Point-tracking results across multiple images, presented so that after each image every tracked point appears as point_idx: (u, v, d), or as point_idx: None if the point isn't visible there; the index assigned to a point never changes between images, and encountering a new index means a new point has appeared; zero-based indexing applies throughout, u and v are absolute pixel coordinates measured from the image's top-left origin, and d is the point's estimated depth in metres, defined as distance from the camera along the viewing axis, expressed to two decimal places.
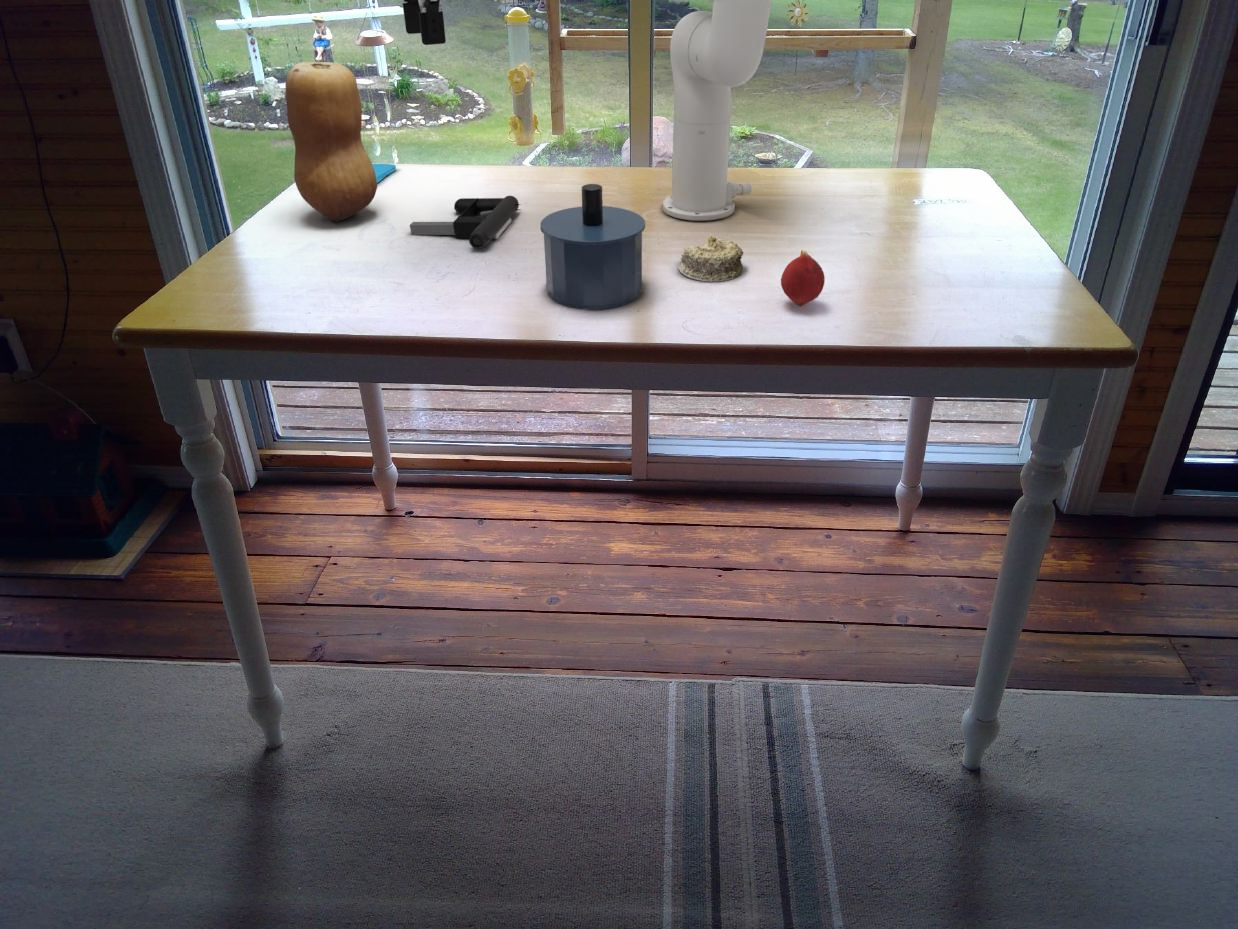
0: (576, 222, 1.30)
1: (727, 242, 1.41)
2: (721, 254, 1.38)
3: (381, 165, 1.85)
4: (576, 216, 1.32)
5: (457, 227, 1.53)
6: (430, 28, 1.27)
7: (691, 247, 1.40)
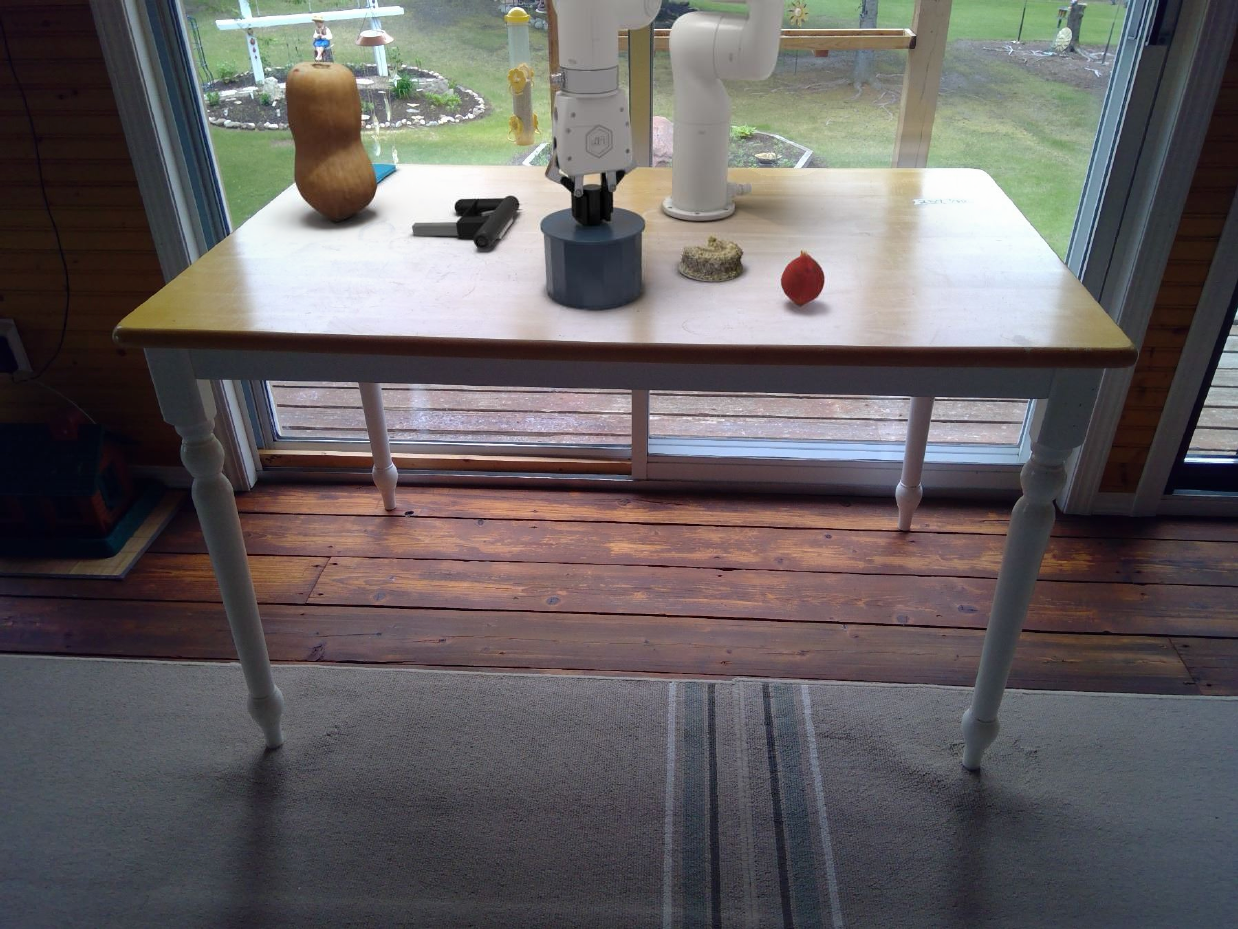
0: (576, 222, 1.30)
1: (727, 242, 1.41)
2: (721, 254, 1.38)
3: (381, 165, 1.85)
4: None
5: (460, 228, 1.53)
6: (572, 207, 1.28)
7: (691, 247, 1.40)
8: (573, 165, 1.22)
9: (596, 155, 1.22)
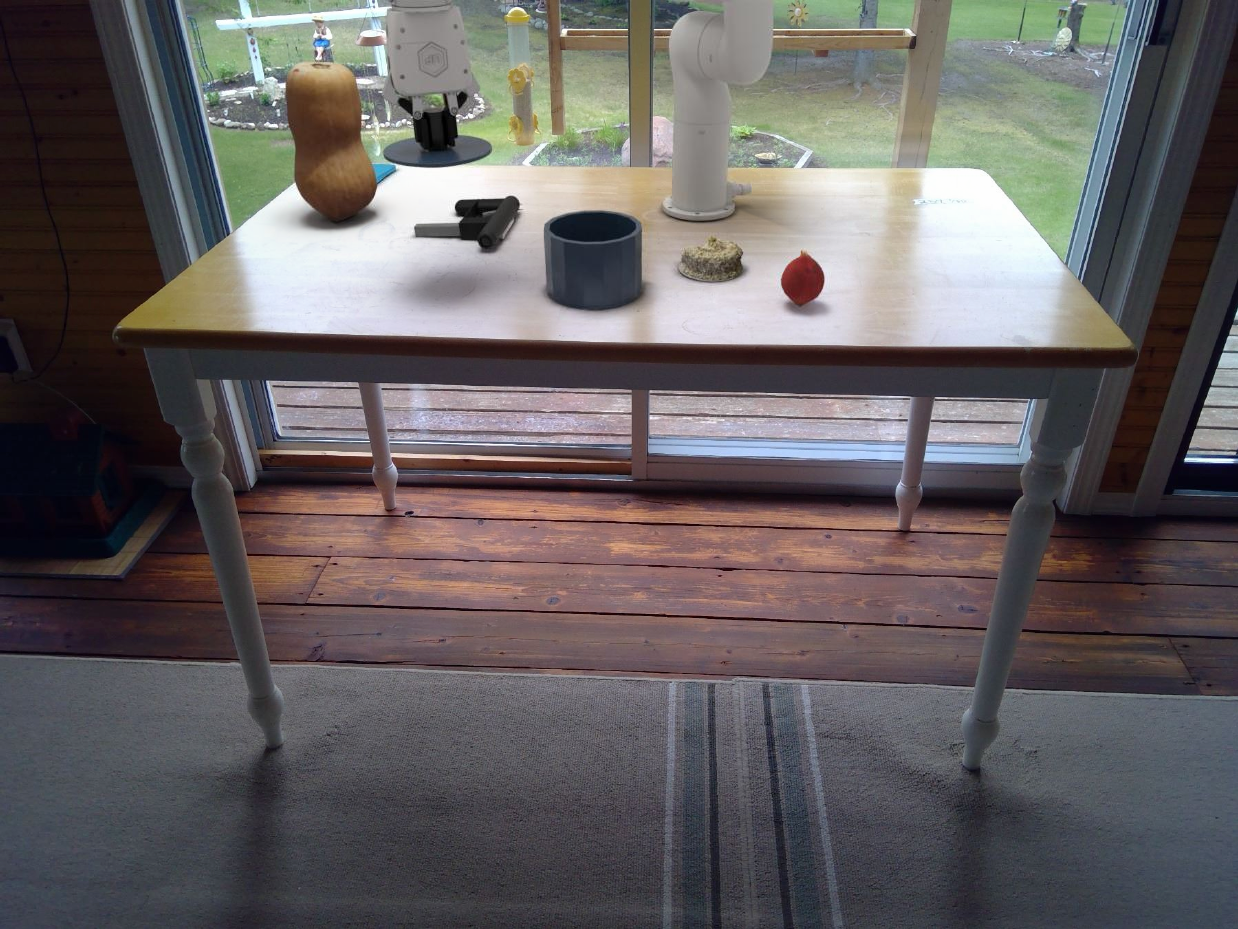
0: (421, 148, 1.28)
1: (727, 242, 1.41)
2: (721, 254, 1.38)
3: (381, 165, 1.85)
4: None
5: (463, 228, 1.52)
6: (414, 131, 1.25)
7: (691, 247, 1.40)
8: (407, 84, 1.19)
9: (431, 74, 1.20)
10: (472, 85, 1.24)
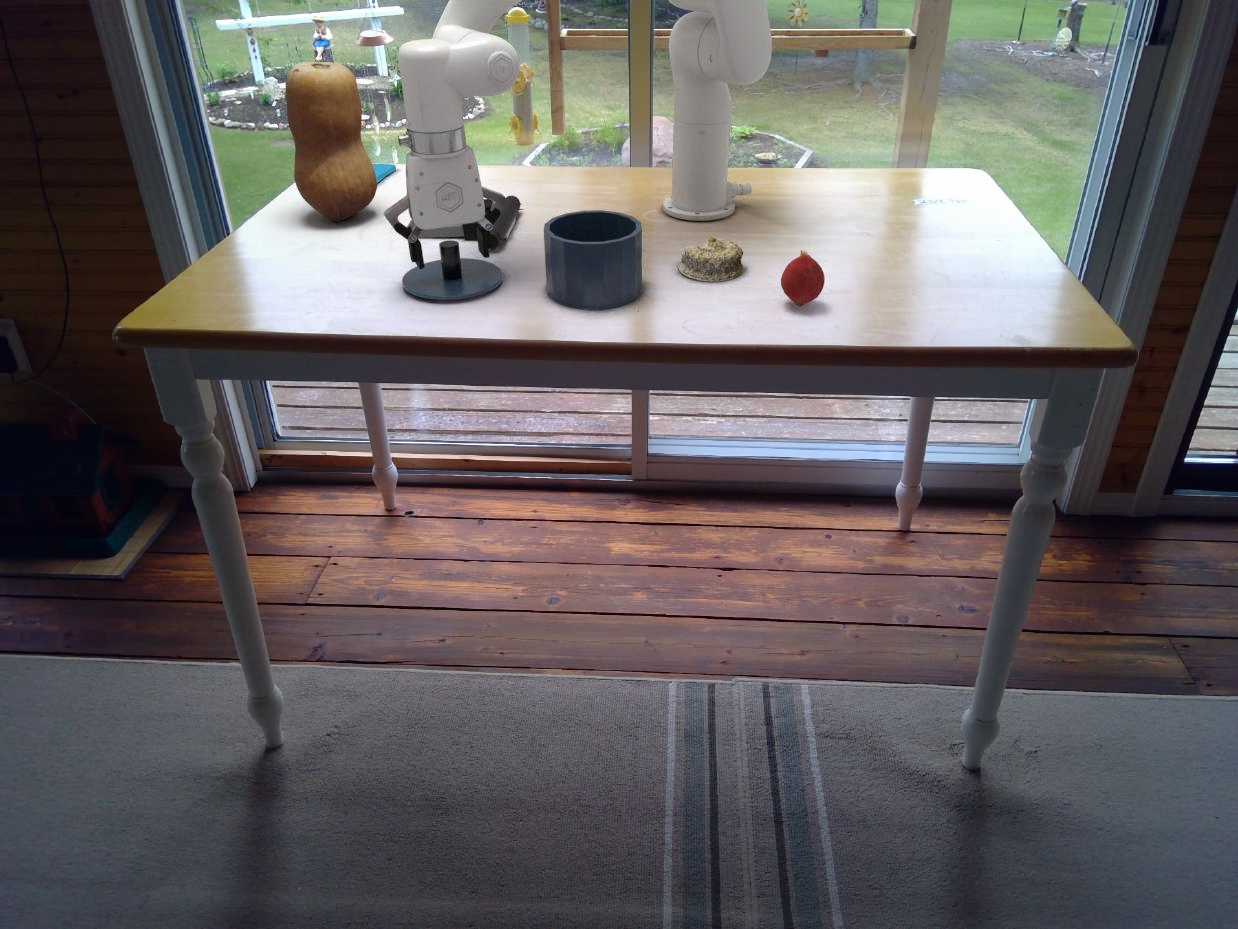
0: (437, 276, 1.38)
1: (727, 242, 1.41)
2: (721, 254, 1.38)
3: (381, 165, 1.85)
4: (439, 269, 1.40)
5: (467, 229, 1.52)
6: (409, 251, 1.34)
7: (691, 247, 1.40)
8: (425, 219, 1.29)
9: (448, 210, 1.30)
10: (498, 199, 1.34)
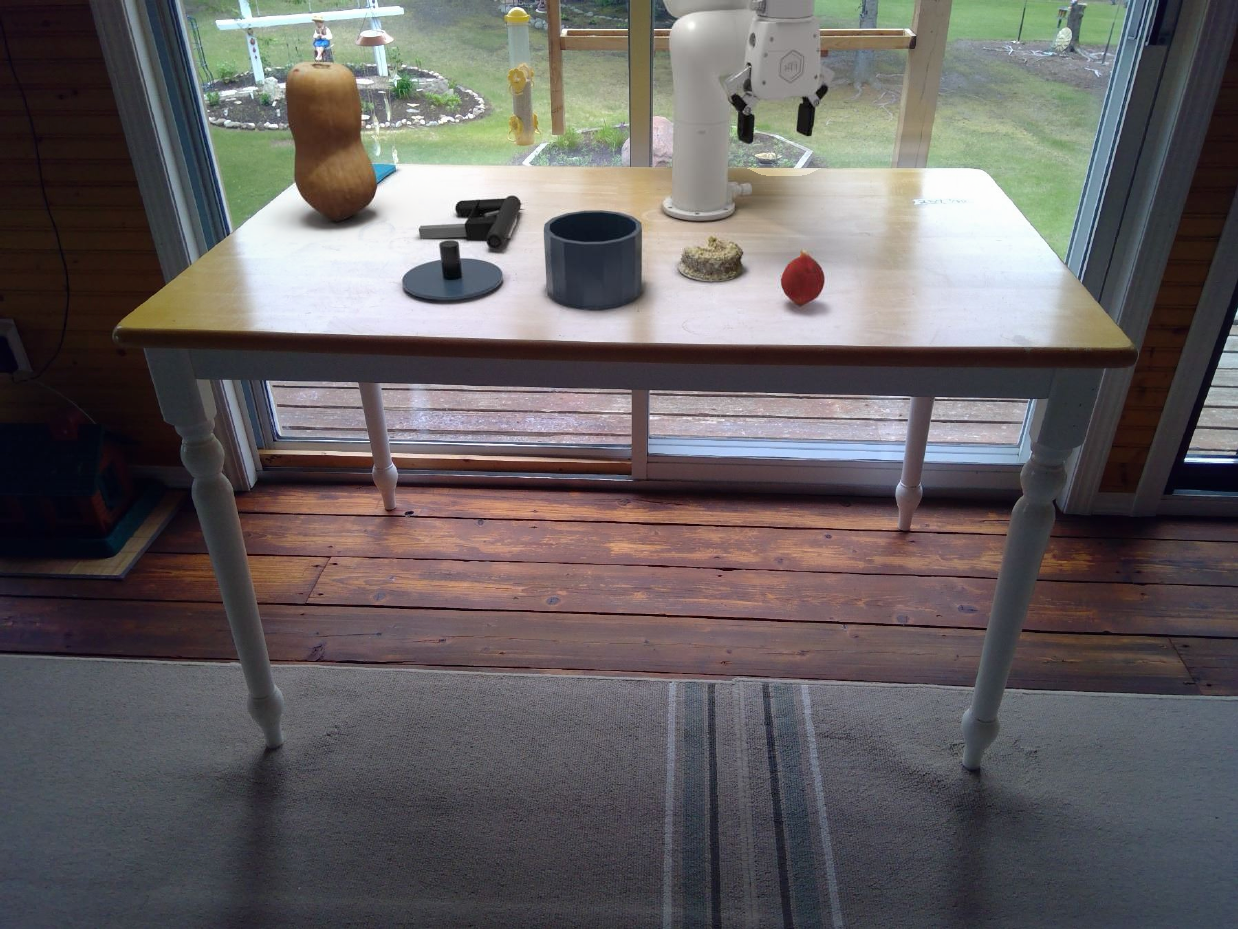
0: (437, 276, 1.38)
1: (727, 242, 1.41)
2: (721, 254, 1.38)
3: (381, 165, 1.85)
4: (439, 269, 1.40)
5: (469, 229, 1.52)
6: (738, 126, 1.32)
7: (691, 247, 1.40)
8: (766, 89, 1.28)
9: (788, 80, 1.28)
10: (827, 74, 1.32)
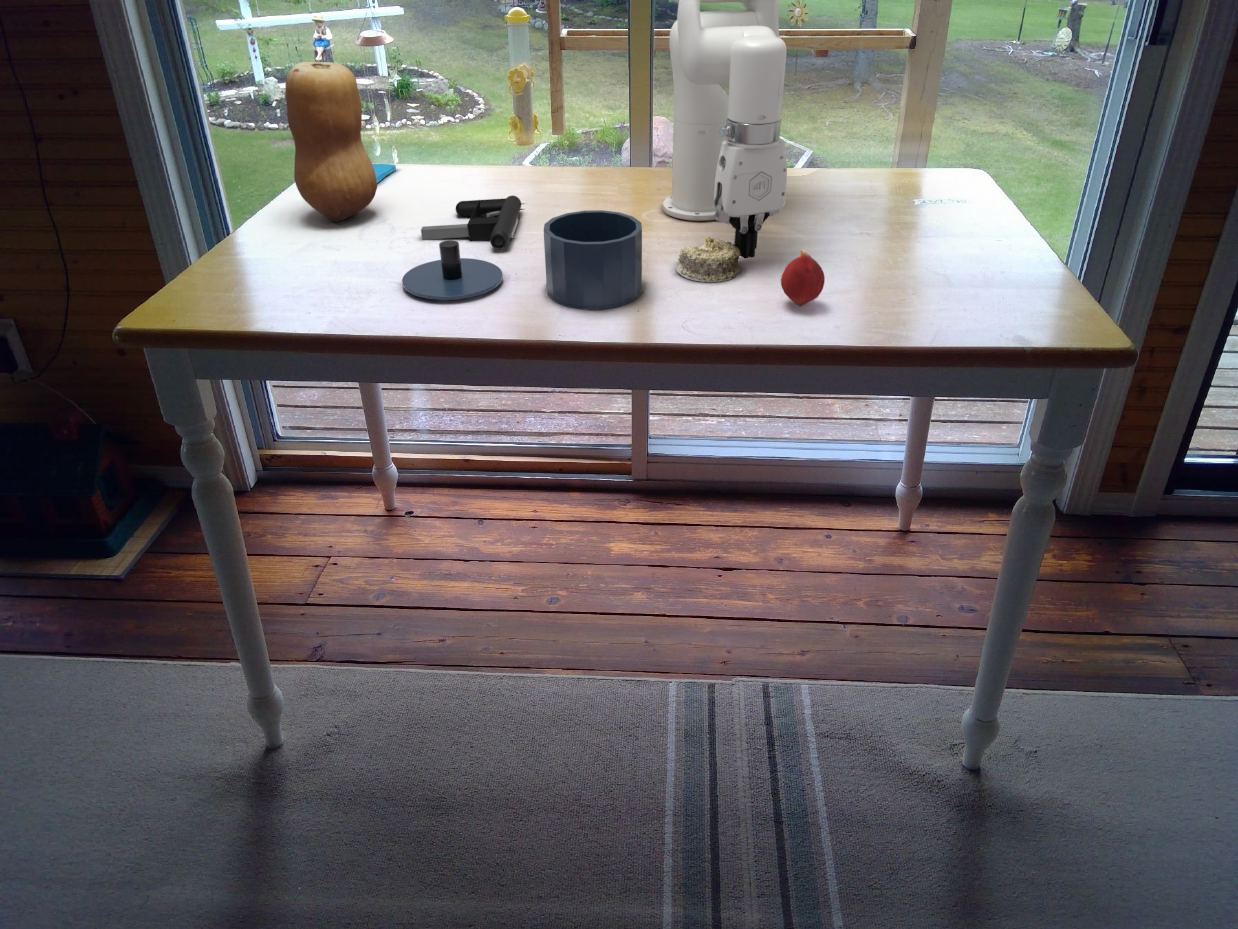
0: (437, 276, 1.38)
1: (725, 243, 1.41)
2: (719, 255, 1.37)
3: (381, 165, 1.85)
4: (439, 269, 1.40)
5: (472, 229, 1.52)
6: (735, 242, 1.42)
7: (689, 248, 1.40)
8: (736, 207, 1.35)
9: (756, 198, 1.36)
10: None
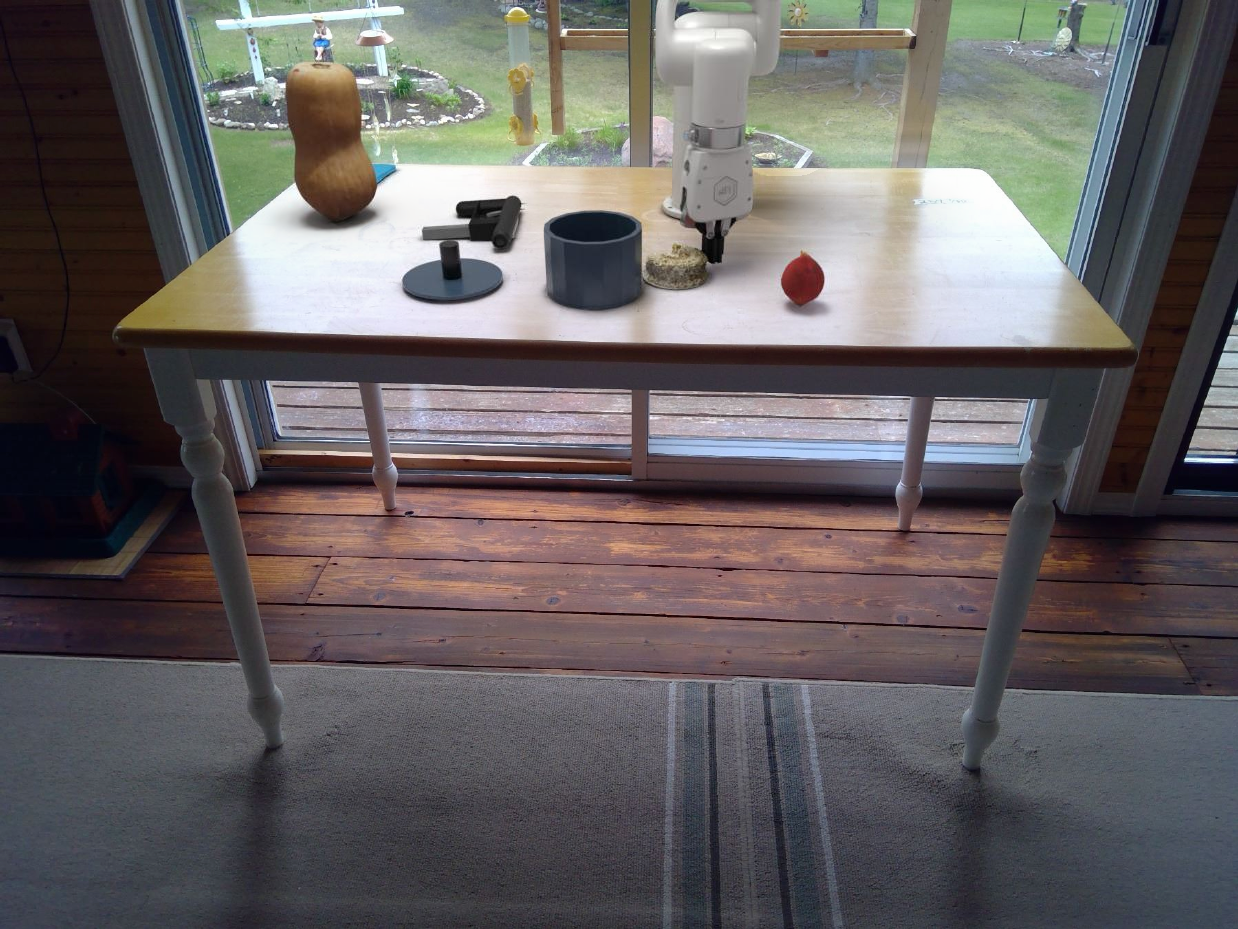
0: (437, 276, 1.38)
1: (692, 249, 1.39)
2: (685, 261, 1.35)
3: (381, 165, 1.85)
4: (439, 269, 1.40)
5: (473, 229, 1.52)
6: (702, 247, 1.40)
7: (655, 254, 1.37)
8: (701, 212, 1.33)
9: (722, 203, 1.34)
10: None
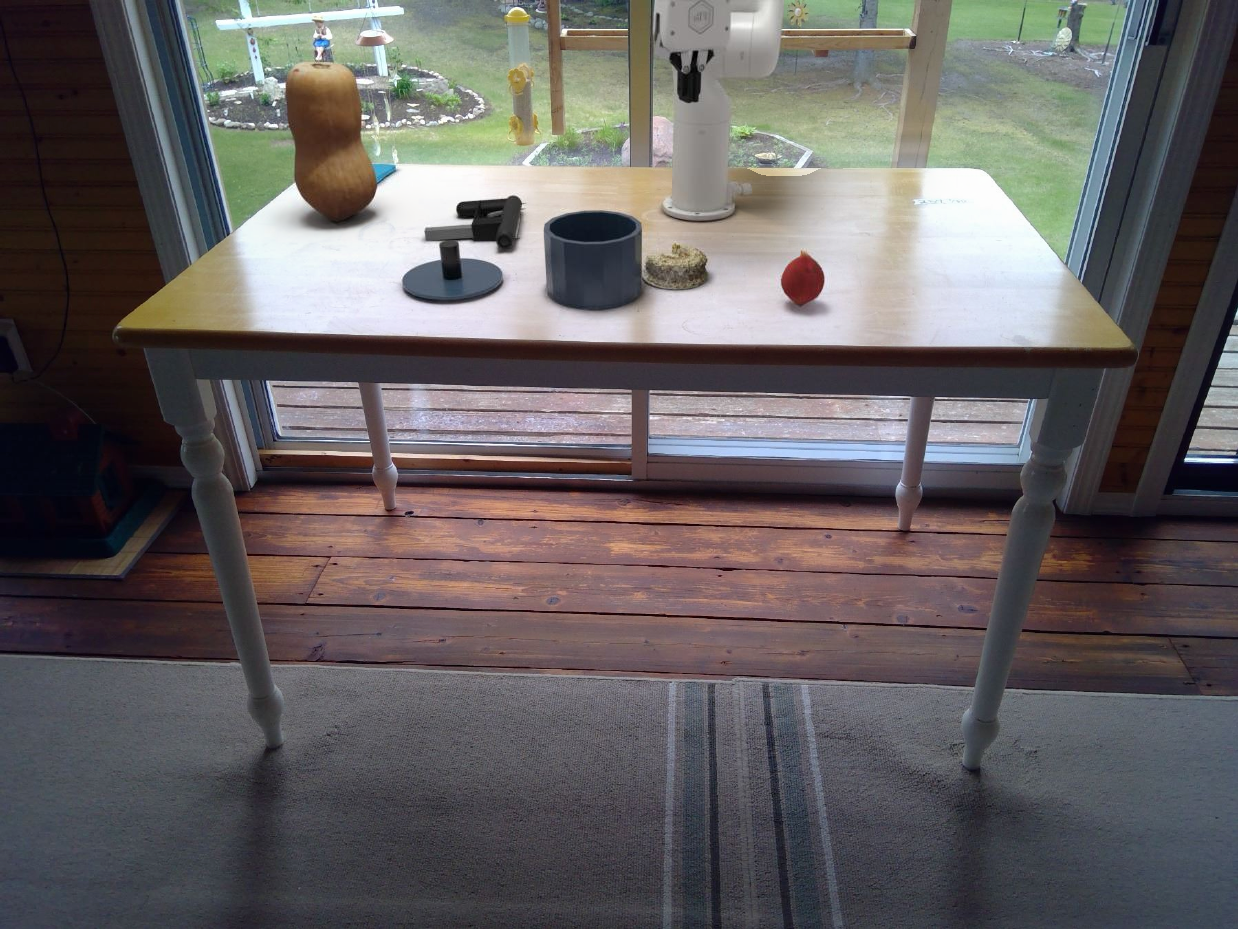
0: (437, 276, 1.38)
1: (691, 249, 1.39)
2: (685, 261, 1.35)
3: (381, 165, 1.85)
4: (439, 269, 1.40)
5: (476, 230, 1.52)
6: (678, 85, 1.33)
7: (655, 254, 1.37)
8: (676, 40, 1.26)
9: (697, 31, 1.27)
10: None
